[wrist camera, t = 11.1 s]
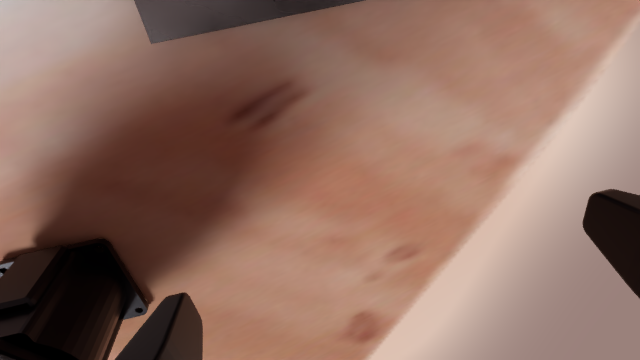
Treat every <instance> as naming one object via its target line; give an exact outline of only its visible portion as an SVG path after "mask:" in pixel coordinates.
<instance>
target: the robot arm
mask: <svg viewBox="0 0 640 360" xmlns="http://www.w3.org/2000/svg"><path fill="white" fill-rule="evenodd" d="M583 228H584V230H585V232H586V234H587V235H588V236H589V237H590V239H591V240H592V241H593V242H594V244H595V245H596V246H597V247H598V249H599V250H600V251H601V253H602V254H603V255H604V256H605V257H606V259H607V260H608V261H609V262H610V264H611V265H612V266H613V267H614V269H615V270H616V271H617V273H618V274H619V275H620V276H621V277H622V279H623V280H624V281H625V282H626V284H627V285H628V286H629V287H630V288H631V290H632V291H633V292H634V293H635V294H636V295H637V296H638V297H639V298H640V195H636V194H632V193H627V192H623V191H619V190H615V189H608V190H604V191H600V192H596V193H593V194H592V195H591V196H590V197H589V200H588V204H587V207H586V211H585V215H584V219H583ZM98 246H101V247H103V248H99V247H98ZM6 268H7V269H6ZM148 306H149V305H148V303H147V301H146V300H145V298H144V297H143V295H142V293H141V292H140V290H139V289H138V287H137V285H136V284H135V282H134V281H133V279H132V277H131V276H130V274H129V273H128V271H127V269H126V268H125V266H124V265H123V263H122V261H121V260H120V258H119V257H118V255H117V253H116V252H115V250H114V249H113V247H112V245H111V244H110V243H109V241H107V240H105V239H95V240H90V241H86V242H82V243H77V244H73V245H68V246H58V247H53V248H49V249H44V250H40V251H36V252H31V253H27V254H22V255H20V256H18V257H16V258H11V259H7V260H3V261H1V262H0V360H108V357H109V354H110V352H111V349H112V347H113V344H114V342H115V339H116V336H117V334H118V331H119V329H120V326H121V324H122V321H123V320H124V319H128V318H133V317H137V316H141V315H144V314H146V313H147V310H148ZM202 352H203V326H202V320H201V317H200V315H199V313H198V311H197V309H196V307H195V305H194V304H193V302H192V300H191V298H190V296H189V295H188V294H187V293H179V294H175V295H170V296H168V297H166V298H165V299H164V300H163V301H162V302H161V303H160V304H159V306H158V307H157V308H156V309H155V311H154V312H153V313H152V314H151V316H150V317H149V318H148V319H147V320H146V322H145V323H144V324H143V325H142V327H141V328H140V329H139V330H138V332H137V333H136V334H135V335H134V336H133V338H132V339H131V340H130V341H129V343H128V344H127V345H126V346H125V348H124V349H123V350H122V351H121V352H120V354H119V355H118V356H117V357H116V359H115V360H202Z"/></svg>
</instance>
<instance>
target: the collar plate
mask: <svg viewBox="0 0 640 360" xmlns="http://www.w3.org/2000/svg"><path fill="white" fill-rule="evenodd" d="M134 1H135V3H136V6H137V9H138V11H139V14H140V16H141V19H142V21H143V24H144V26H145V29H146V31H147V34H148V36H149V39H150V42H151V44H153V43H158V42H162V41H167V40H172V39H177V38H182V37H187V36H192V35H197V34H202V33H207V32H212V31H217V30H222V29H226V28H231V27H236V26H241V25H246V24H251V23H256V22H261V21H266V20H271V19H276V18H281V17H285V16H290V15H295V14H300V13H305V12H310V11H315V10H320V9H325V8H330V7H335V6H340V5H345V4H349V3H354V2H359V1H364V0H134Z"/></svg>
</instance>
